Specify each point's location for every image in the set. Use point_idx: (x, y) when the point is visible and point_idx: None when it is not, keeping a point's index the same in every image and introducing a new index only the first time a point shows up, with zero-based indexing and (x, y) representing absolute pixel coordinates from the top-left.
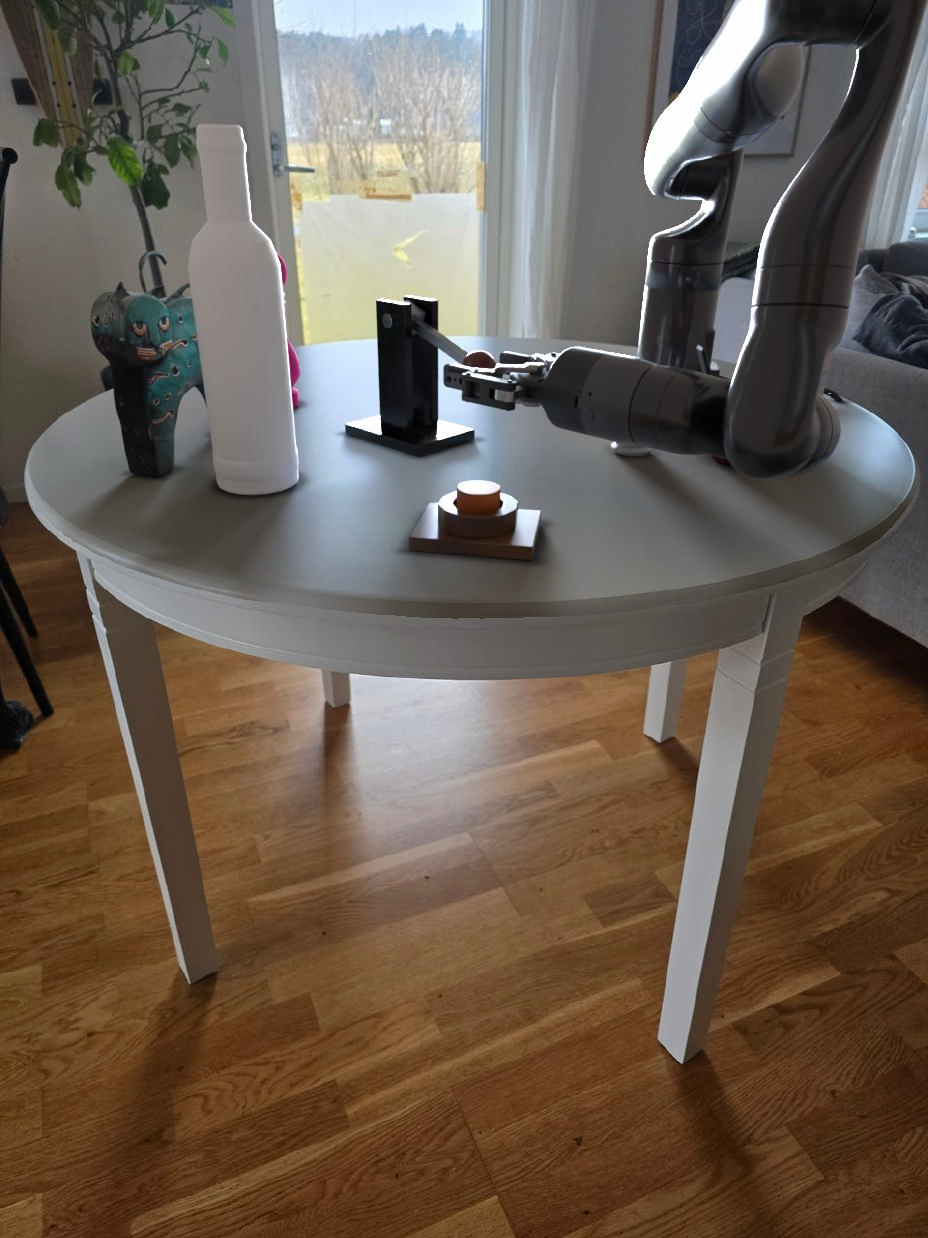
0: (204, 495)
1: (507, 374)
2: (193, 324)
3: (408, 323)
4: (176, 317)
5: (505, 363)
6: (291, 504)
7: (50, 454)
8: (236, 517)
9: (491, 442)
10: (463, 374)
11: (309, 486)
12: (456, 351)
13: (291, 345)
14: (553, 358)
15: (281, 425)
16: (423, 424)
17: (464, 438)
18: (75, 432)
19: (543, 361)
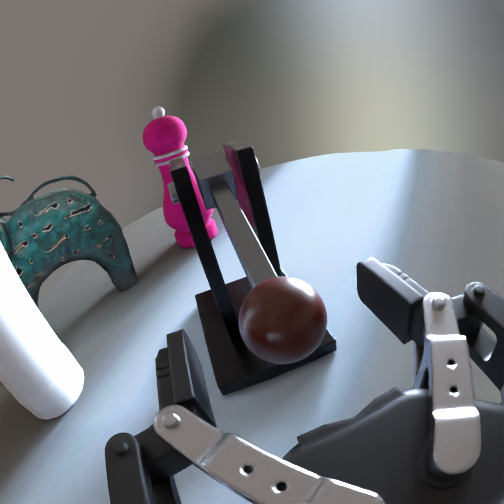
0: None
1: (370, 309)
2: (33, 224)
3: (188, 199)
4: (16, 224)
5: (366, 288)
6: (36, 449)
7: (42, 296)
8: (5, 442)
9: (357, 364)
10: (108, 445)
11: (71, 422)
12: (245, 266)
13: (198, 190)
14: (465, 424)
15: (10, 374)
16: None
17: (315, 355)
18: (74, 269)
19: (431, 411)
